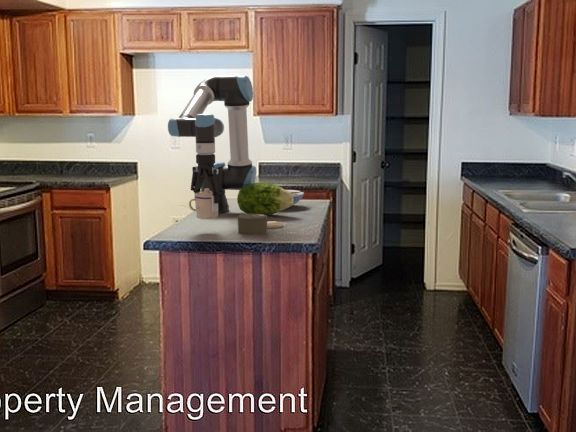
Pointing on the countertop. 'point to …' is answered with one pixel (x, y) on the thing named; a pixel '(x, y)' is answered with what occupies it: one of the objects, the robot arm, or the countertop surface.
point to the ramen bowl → (296, 195)
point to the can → (252, 224)
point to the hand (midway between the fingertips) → (206, 209)
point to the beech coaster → (274, 224)
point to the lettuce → (263, 199)
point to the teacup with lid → (204, 205)
